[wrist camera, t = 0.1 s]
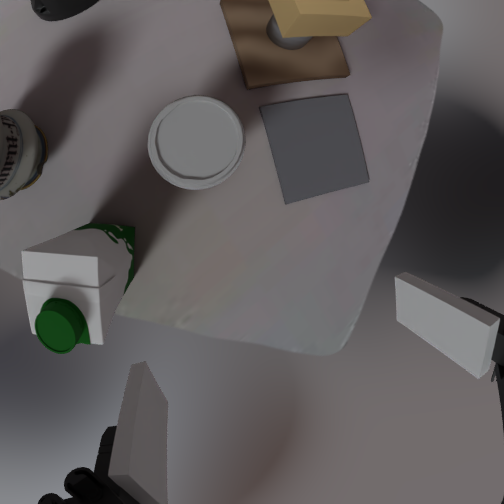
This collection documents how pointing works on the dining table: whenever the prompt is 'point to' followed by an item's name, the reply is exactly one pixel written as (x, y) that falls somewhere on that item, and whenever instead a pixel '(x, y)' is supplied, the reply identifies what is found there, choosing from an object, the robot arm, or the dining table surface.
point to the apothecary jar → (19, 152)
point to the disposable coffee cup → (196, 142)
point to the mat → (314, 146)
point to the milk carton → (77, 284)
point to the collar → (319, 17)
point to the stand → (278, 48)
